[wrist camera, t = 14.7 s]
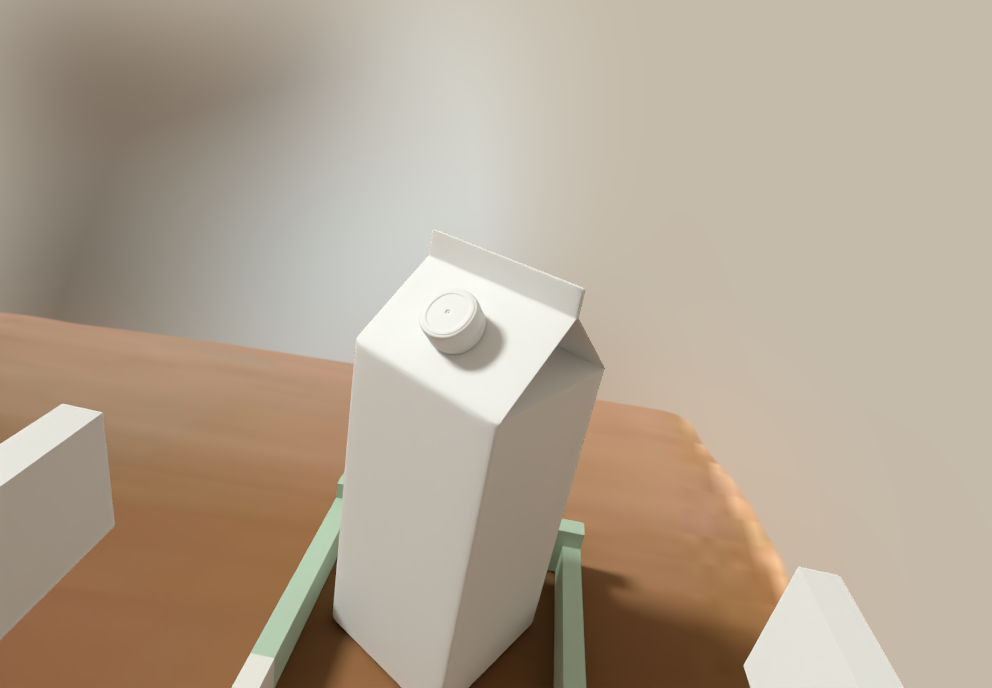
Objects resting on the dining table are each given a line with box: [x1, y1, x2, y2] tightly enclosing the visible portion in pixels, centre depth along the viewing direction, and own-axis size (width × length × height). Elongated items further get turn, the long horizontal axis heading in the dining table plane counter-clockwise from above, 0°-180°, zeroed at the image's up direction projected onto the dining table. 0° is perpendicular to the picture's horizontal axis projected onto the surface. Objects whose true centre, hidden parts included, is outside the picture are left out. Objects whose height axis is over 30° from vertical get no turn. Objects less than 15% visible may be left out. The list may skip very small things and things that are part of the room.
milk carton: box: [333, 230, 605, 688], centre depth 25 cm, size 7×7×19 cm
